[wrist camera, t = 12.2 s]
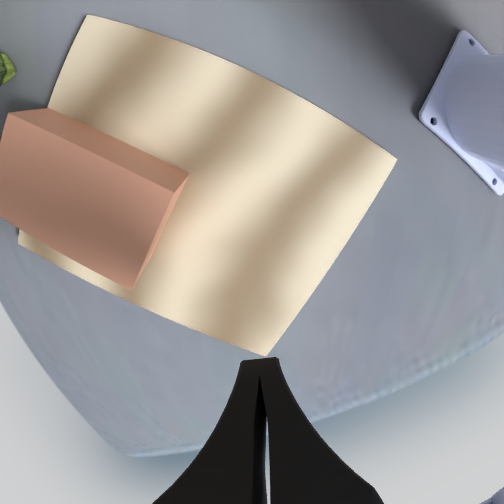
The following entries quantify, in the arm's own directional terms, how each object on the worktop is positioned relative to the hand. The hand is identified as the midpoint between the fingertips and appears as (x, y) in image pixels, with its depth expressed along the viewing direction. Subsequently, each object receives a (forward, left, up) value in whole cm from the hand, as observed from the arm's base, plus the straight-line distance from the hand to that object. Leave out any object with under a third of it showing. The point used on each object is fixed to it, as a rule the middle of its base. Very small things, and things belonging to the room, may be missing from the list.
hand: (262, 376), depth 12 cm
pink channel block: (+11, -1, -9) cm, 14 cm away
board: (+6, -2, -9) cm, 11 cm away
